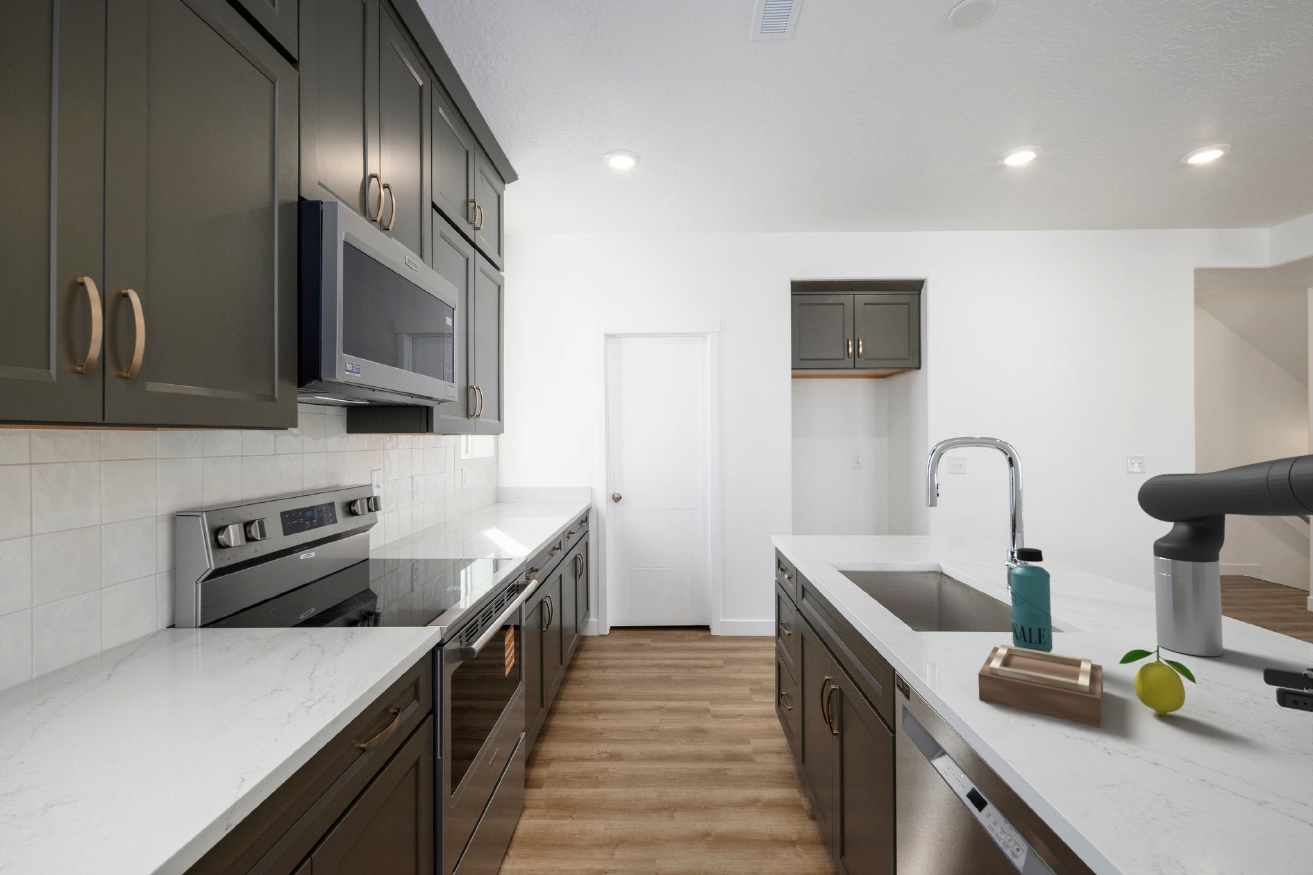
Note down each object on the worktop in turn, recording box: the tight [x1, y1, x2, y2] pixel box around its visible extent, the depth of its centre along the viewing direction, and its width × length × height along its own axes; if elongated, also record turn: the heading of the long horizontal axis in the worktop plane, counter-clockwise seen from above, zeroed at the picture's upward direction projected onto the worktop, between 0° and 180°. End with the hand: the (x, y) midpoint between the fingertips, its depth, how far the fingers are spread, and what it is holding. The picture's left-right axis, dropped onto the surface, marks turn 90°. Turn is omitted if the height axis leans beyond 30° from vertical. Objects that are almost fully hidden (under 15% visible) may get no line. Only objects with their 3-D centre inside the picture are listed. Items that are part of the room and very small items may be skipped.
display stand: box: [977, 644, 1104, 728], centre depth 90 cm, size 15×15×5 cm
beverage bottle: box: [1010, 547, 1054, 653], centre depth 107 cm, size 6×7×20 cm
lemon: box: [1119, 644, 1197, 716], centre depth 83 cm, size 7×6×10 cm
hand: (1269, 685), depth 76 cm, fingers open, 8 cm apart
